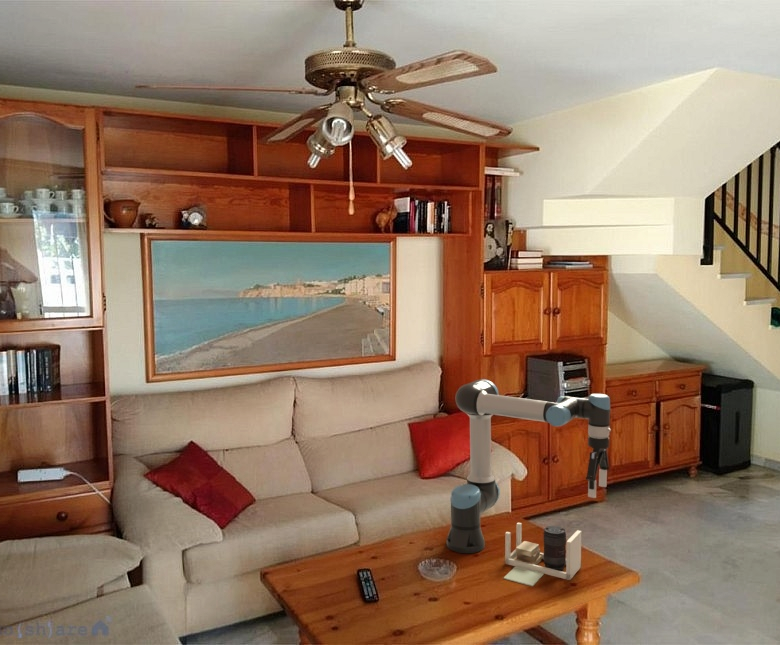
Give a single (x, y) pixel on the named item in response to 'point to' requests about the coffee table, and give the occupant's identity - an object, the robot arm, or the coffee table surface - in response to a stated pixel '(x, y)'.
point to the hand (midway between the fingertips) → (597, 491)
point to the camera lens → (554, 547)
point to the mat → (524, 576)
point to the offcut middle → (528, 558)
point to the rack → (571, 555)
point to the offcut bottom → (531, 562)
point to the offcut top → (527, 548)
